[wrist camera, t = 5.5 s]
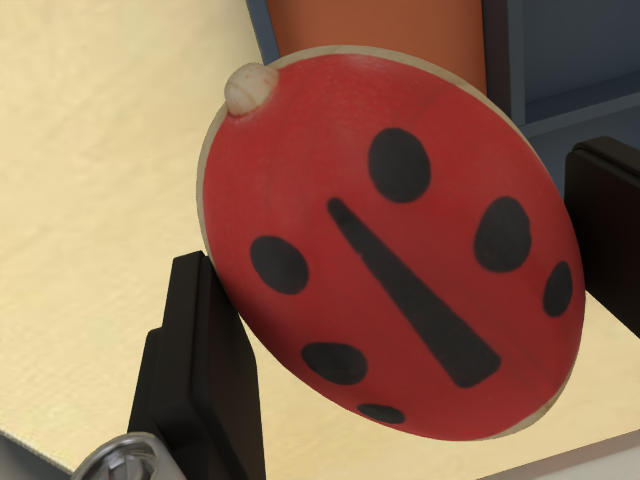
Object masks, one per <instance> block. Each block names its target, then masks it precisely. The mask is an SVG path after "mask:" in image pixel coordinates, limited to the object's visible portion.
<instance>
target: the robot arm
mask: <svg viewBox="0 0 640 480" xmlns="http://www.w3.org/2000/svg"><path fill="white" fill-rule="evenodd" d="M564 205H565V207H566V209H567V212H568V214H569V216H570V219H571V222H572V225H573V228H574V231H575V234H576V238H577V241H578V245H579V250H580V255H581V260H582V265H583V272H584V281H585V290H586V291H588V292H589V293H590V294H591V295H592V296H593V297H594V298H595V299H596V300H597V301H599V302H600V303H601V304H602V305H603V306H604V307H605V308H606V309H607V310H608V311H610V312H611V313H612V314H613V315H614V316H615V317H616V318H617V319H618V320H619V321H621V322H622V323H623V324H624V325H625V326H626V327H627V328H628V329H629V330H630V331H632V332H633V333H634V334H635V335H636V336H637V337H638V338H639V339H640V150H638V149H636V148H634V147H631V146H629V145H627V144H625V143H623V142H620V141H618V140H616V139H614V138H612V137H609V136H605V135H604V136H600V137H597V138H593V139H589V140H586V141H582V142H579V143H576V144H575V145H574V146H573V148H572V152H569V153H568V154H567V156H566V159H565V182H564ZM71 480H266V472H265V460H264V448H263V436H262V423H261V411H260V399H259V387H258V375H257V365H256V359H255V355H254V352H253V349H252V346H251V344H250V341H249V339H248V336H247V334H246V331H245V329H244V327H243V324H242V322H241V319H240V317H239V314H238V312H237V310H236V309H235V307H234V306H233V305H232V303H231V302H230V300H229V298H228V297H227V295H226V293H225V291H224V289H223V288H222V286H221V283H220V281H219V279H218V277H217V275H216V272H215V270H214V267H213V265H212V262H211V260H210V258H209V256H205V254H204V253H203V251H201V250H200V251H196V252H193V253H189V254H186V255H182V256H179V257H175V258H174V259H173V263H172V269H171V275H170V281H169V287H168V293H167V299H166V305H165V311H164V317H163V323H162V327H160V328H156V329H153V330H151V331H149V332H148V335H147V337H146V342H145V347H144V352H143V357H142V362H141V366H140V371H139V376H138V381H137V386H136V391H135V396H134V401H133V406H132V410H131V415H130V420H129V425H128V430H127V434H124V435H121V436H118V437H115V438H113V439H111V440H110V441H108V442H106V443H104V444H103V445H101V446H100V447H98V448H97V449H96V450H95V451H94V452H92V453H91V454H90V455H89V456H88V457H86V459H85V460H84V461H83V462H82V463H81V465H80V466H79V467H78V468H77V469H76V470H75V472H74V474H73V476H72V477H71ZM477 480H640V429H639V430H636V431H633V432H629V433H626V434H623V435H620V436H616V437H613V438H610V439H607V440H603V441H600V442H597V443H594V444H590V445H587V446H584V447H580V448H577V449H574V450H571V451H567V452H564V453H561V454H558V455H554V456H551V457H548V458H545V459H541V460H538V461H535V462H532V463H528V464H525V465H522V466H519V467H515V468H512V469H509V470H506V471H503V472H499V473H496V474H493V475H490V476H487V477H483V478H480V479H477Z"/></svg>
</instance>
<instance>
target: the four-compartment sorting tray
mask: <svg viewBox="0 0 640 480" xmlns="http://www.w3.org/2000/svg"><path fill="white" fill-rule="evenodd" d="M246 4H247V7H248V11H249V14H250V18H251V21H252V25H253V28H254V32H255V35H256V39H257V42H258V46H259V49H260V53H261V56H262V60H263V63H264V66H267V65H269V64H270V63H272V62H274V61H276V60H278V59H280V58H282V57H284V56H287V55H289V54H292V53H295V52H298V51H301V50H305V49H309V48H314V47H320V46H329V45H358V46H370V47H377V48H383V49H387V50H392V51H397V52H401V53H405V54H408V55H411V56H414V57H417V58H420V59H422V60H425V61H428V62H430V63H433V64H435V65H437V66H439V67H441V68H443V69H445V70H447V71H449V72H451V73H453V74H455V75H457V76H458V77H460V78H462V79H463V80H465V81H466V82H468V83H469V84H471V85H472V86H473V87H475V88H476V89H477V90H479V91H480V92H481V93H482V94H484V95H485V96H486V97H487V98H488V99H489V100H490V101H491V102H493V103H494V104H495V105H496V106H497V107H498V108H499V109H501V110H502V111H503V112H504V113H505V114H506V115H507V116H508V117H509V119H510V120H511V121H512V122H513V123H514V124H515V125H516V127H517V128H518V129H519V130H520V131H521V133H522V134H523V135H524V137H525V138H526V139H527V140H528V142H529V143H530V145H531V146H532V147H533V149H534V150H535V152H536V153H537V155H538V156H539V158H540V159H541V161H542V163H543V164H544V166H545V167H546V169H547V171H548V173H549V174H550V176H551V178H552V180H553V182H554V184H555V186H556V188H557V190H558V192H559V194H560V196H561V198H562V200H563V202H564V182H565V159H566V156H567V154H568V153H569V152H572V148H573V146H574V145H575V144H576V143H579V142H582V141H586V140H589V139H593V138H597V137H600V136H604V135H605V136H609V137H612V138H614V139H616V140H618V141H620V142H623V143H625V144H627V145H629V146H631V147H634V148H636V149H638V150H640V0H246Z"/></svg>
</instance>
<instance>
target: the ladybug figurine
mask: <svg viewBox="0 0 640 480" xmlns="http://www.w3.org/2000/svg"><path fill="white" fill-rule="evenodd" d="M224 94H225V99H226V101H225V103H224V104H223V105H222V107H221V108H220V109H219V111H218V112H217V114H216V116H215V118H214V120H213V121H212V123H211V125H210V127H209V129H208V132H207V134H206V136H205V139H204V142H203V145H202V149H201V152H200V156H199V161H198V168H197V181H196V201H197V212H198V218H199V223H200V228H201V233H202V237H203V240H204V244H205V247H206V251H207V253H208V256H209V258H210V260H211V262H212V265H213V267H214V270H215V272H216V275H217V277H218V279H219V281H220V283H221V286H222V288H223V289H224V291H225V293H226V295H227V297H228V298H229V300H230V302H231V303H232V305H233V306H234V307H235V309H236V310H237V312H238V313H239V315H240V316H241V317H242V319H243V320H244V321H245V323H246V324H247V325H248V327H249V328H250V329H251V331H252V332H253V333H254V335H255V336H256V337H257V338H258V339H259V341H260V342H261V343H262V344H263V345H264V346H265V347H266V349H267V350H268V351H269V352H270V353H271V354H272V355H273V356H274V357H275V358H276V359H277V360H278V361H279V362H280V363H281V364H282V365H283V366H284V367H285V368H286V369H288V370H289V371H290V372H291V373H293V374H294V375H295V376H296V377H297V378H299V379H300V380H302V381H303V382H304V383H306V384H307V385H308V386H310V387H311V388H312V389H314V390H315V391H317V392H318V393H320V394H321V395H323V396H324V397H326V398H327V399H329V400H331V401H333V402H334V403H336V404H338V405H340V406H341V407H343V408H345V409H347V410H349V411H351V412H353V413H356V414H358V415H360V416H362V417H364V418H367V419H369V420H371V421H374V422H376V423H379V424H382V425H384V426H387V427H390V428H393V429H396V430H399V431H403V432H406V433H410V434H413V435H417V436H421V437H426V438H432V439H437V440H446V441H482V440H489V439H496V438H500V437H504V436H507V435H510V434H513V433H516V432H518V431H521V430H523V429H525V428H527V427H529V426H530V425H532V424H534V423H535V422H536V421H538V420H539V419H540V418H541V417H543V416H544V415H545V414H546V413H547V412H548V410H549V409H550V408H551V407H552V406H553V405H554V403H555V402H556V401H557V399H558V398H559V396H560V395H561V393H562V391H563V390H564V388H565V386H566V384H567V382H568V380H569V378H570V376H571V373H572V370H573V367H574V364H575V361H576V358H577V355H578V351H579V346H580V342H581V335H582V328H583V322H584V313H585V301H586V295H585V281H584V272H583V265H582V260H581V255H580V250H579V245H578V241H577V238H576V234H575V231H574V228H573V225H572V222H571V219H570V216H569V214H568V212H567V209H566V207H565V205H564V202H563V200H562V198H561V196H560V194H559V192H558V190H557V188H556V186H555V184H554V182H553V180H552V178H551V176H550V174H549V173H548V171H547V169H546V167H545V166H544V164H543V163H542V161H541V159H540V158H539V156H538V155H537V153H536V152H535V150H534V149H533V147H532V146H531V145H530V143H529V142H528V140H527V139H526V138H525V137H524V135H523V134H522V133H521V131H520V130H519V129H518V128H517V127H516V125H515V124H514V123H513V122H512V121H511V120H510V119H509V117H508V116H507V115H506V114H505V113H504V112H503V111H502V110H501V109H499V108H498V107H497V106H496V105H495V104H494V103H493V102H491V101H490V100H489V99H488V98H487V97H486V96H485V95H484V94H482V93H481V92H480V91H479V90H477V89H476V88H475V87H473V86H472V85H471V84H469V83H468V82H466V81H465V80H463V79H462V78H460V77H458V76H457V75H455V74H453V73H451V72H449V71H447V70H445V69H443V68H441V67H439V66H437V65H435V64H433V63H430V62H428V61H425V60H422V59H420V58H417V57H414V56H411V55H408V54H405V53H401V52H397V51H392V50H387V49H383V48H377V47H370V46H358V45H329V46H320V47H314V48H309V49H305V50H301V51H298V52H295V53H292V54H289V55H287V56H284V57H282V58H280V59H278V60H276V61H274V62H272V63H270V64H269V65H267V66H264V65H262V64H258V63H248V64H246V65H244V66H242V67H241V68H239V69H238V70H237V71H236V72H234V73H233V75H232V76H231V77H230V78H229V79H228V81H227V83H226V85H225V93H224Z"/></svg>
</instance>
